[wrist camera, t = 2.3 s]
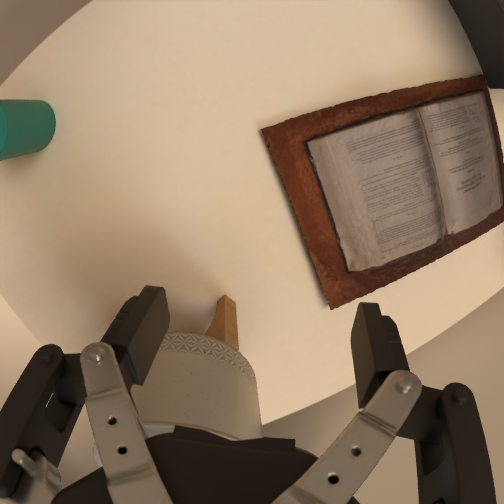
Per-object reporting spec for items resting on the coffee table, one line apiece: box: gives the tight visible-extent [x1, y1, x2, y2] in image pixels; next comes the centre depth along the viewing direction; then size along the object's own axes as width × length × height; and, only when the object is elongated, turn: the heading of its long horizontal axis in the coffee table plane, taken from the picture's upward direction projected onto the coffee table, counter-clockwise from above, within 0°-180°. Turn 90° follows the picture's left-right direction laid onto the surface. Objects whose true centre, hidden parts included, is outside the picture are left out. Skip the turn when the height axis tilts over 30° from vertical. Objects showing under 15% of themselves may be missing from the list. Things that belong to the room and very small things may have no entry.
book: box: [261, 75, 504, 310], centre depth 29 cm, size 20×28×4 cm
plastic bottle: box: [0, 100, 56, 161], centre depth 21 cm, size 5×5×9 cm
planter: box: [93, 295, 263, 467], centre depth 27 cm, size 13×13×18 cm
